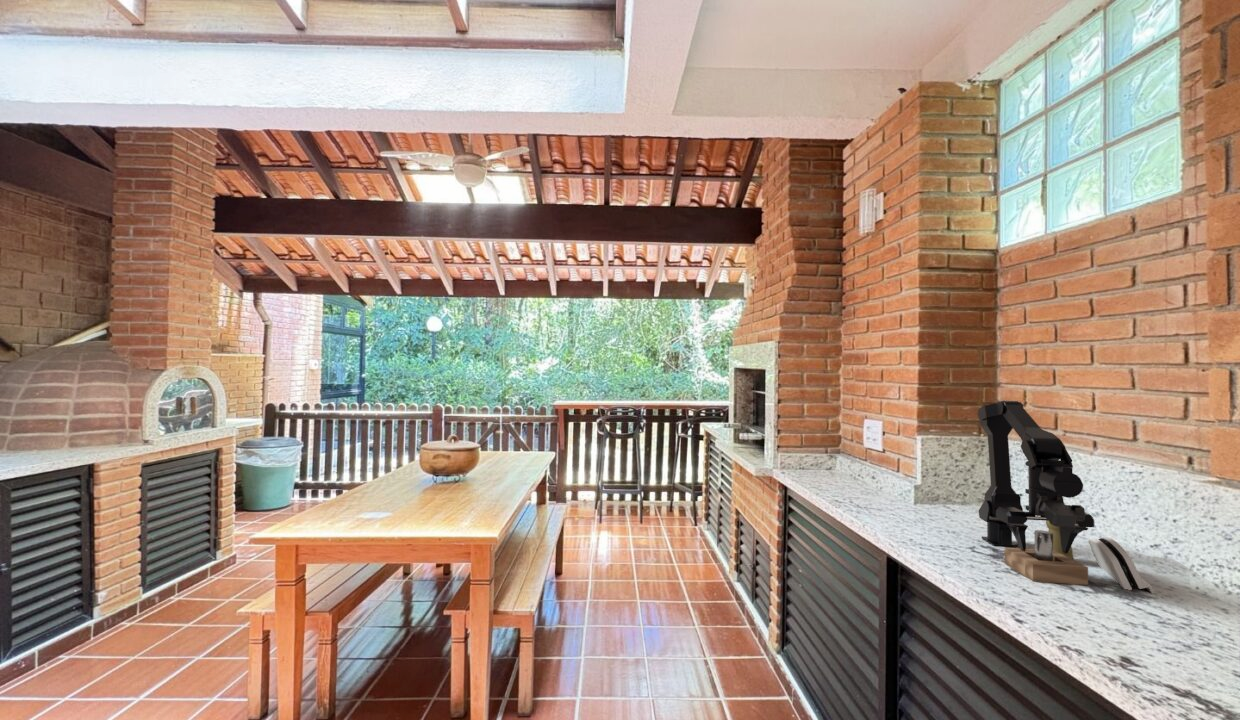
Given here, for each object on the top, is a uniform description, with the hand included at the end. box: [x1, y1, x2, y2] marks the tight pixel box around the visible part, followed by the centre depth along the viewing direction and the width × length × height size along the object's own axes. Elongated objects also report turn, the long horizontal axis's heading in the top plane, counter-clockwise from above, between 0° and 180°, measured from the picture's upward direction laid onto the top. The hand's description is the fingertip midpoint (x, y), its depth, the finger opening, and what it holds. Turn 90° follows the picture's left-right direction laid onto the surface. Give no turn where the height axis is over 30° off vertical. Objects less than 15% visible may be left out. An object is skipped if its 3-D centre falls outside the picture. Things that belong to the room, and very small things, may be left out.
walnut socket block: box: [1003, 547, 1089, 586], centre depth 127 cm, size 12×12×4 cm
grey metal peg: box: [1034, 529, 1053, 561], centre depth 127 cm, size 4×4×10 cm
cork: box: [1045, 520, 1075, 561], centre depth 136 cm, size 6×6×11 cm
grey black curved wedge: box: [1088, 537, 1155, 594], centre depth 124 cm, size 17×5×10 cm, turn 153°
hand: (1043, 552), depth 127 cm, fingers open, 9 cm apart
